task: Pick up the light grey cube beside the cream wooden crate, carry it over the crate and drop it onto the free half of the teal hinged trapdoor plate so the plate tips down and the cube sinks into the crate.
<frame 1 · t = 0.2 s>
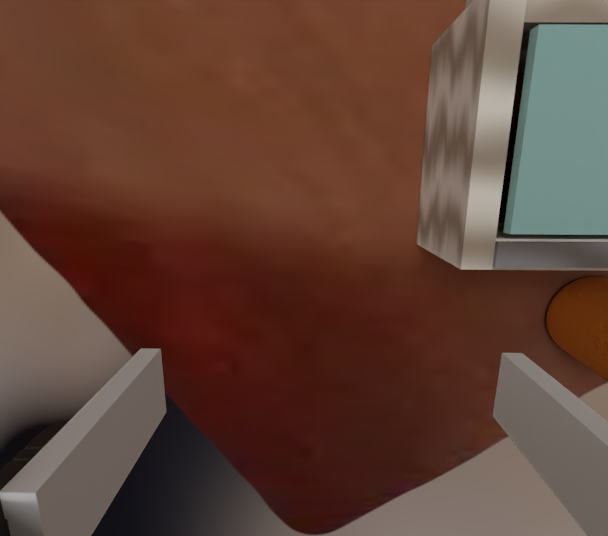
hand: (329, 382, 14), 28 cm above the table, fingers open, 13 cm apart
wine bottle: (581, 312, 43), on the table
crate: (518, 151, 38), on the table
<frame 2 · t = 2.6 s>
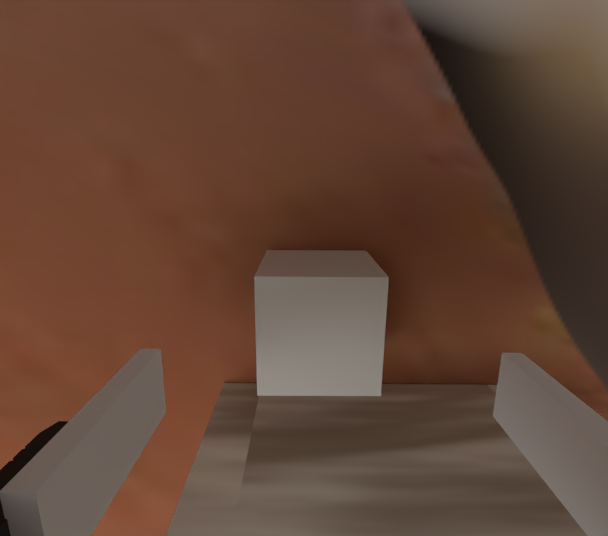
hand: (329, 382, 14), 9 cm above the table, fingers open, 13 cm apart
crate: (366, 505, 27), on the table
light grey cube: (315, 297, 23), on the table
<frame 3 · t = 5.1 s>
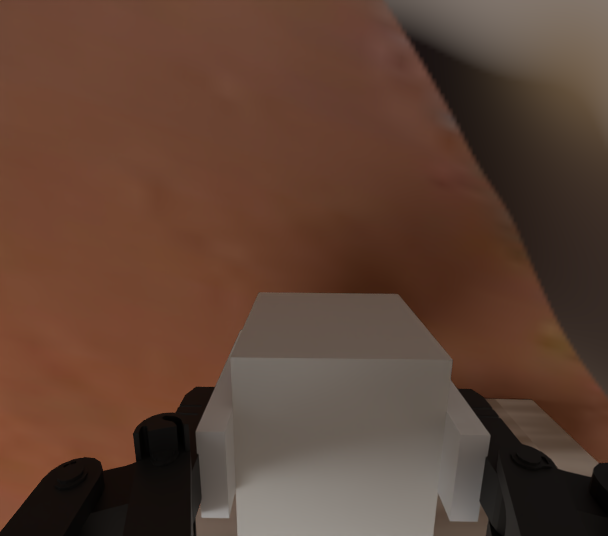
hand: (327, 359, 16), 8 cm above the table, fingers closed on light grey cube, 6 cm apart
crate: (377, 517, 27), on the table
light grey cube: (326, 357, 16), point 8 cm above the table, touching gripper
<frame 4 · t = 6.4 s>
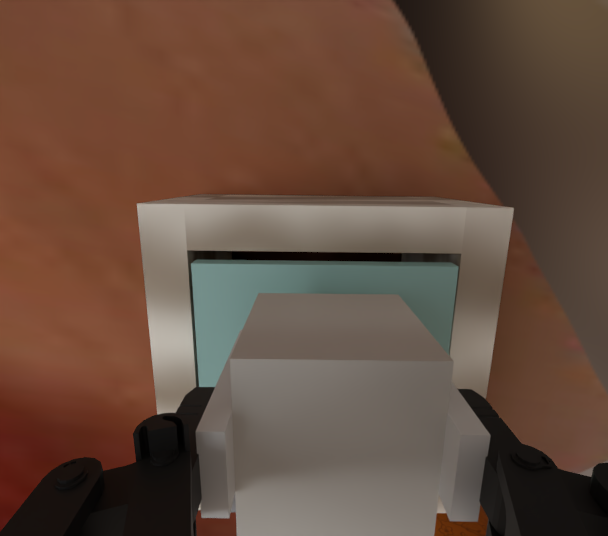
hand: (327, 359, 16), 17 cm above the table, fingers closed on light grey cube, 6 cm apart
wine bottle: (408, 470, 38), on the table
crate: (315, 306, 33), on the table
light grey cube: (326, 357, 16), point 17 cm above the table, touching gripper
trapdoor: (321, 380, 21), point 12 cm above the table, hinge at 0.0°
when the fingers open (14 cm above the table, at t = 7.0 s): light grey cube drops 6 cm, resting on crate, trapdoor.
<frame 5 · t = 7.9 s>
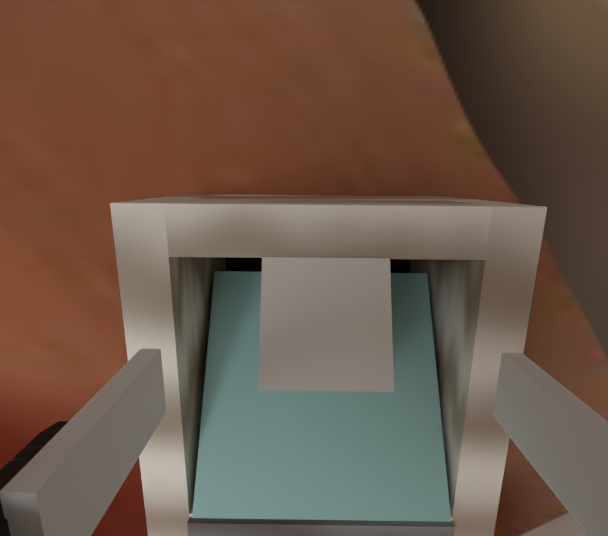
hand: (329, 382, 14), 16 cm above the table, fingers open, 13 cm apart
crate: (317, 315, 31), on the table
light grey cube: (320, 324, 22), point 8 cm above the table, tilted 23°, touching crate, trapdoor
trapdoor: (320, 383, 22), point 9 cm above the table, hinge at -31.4°, touching light grey cube
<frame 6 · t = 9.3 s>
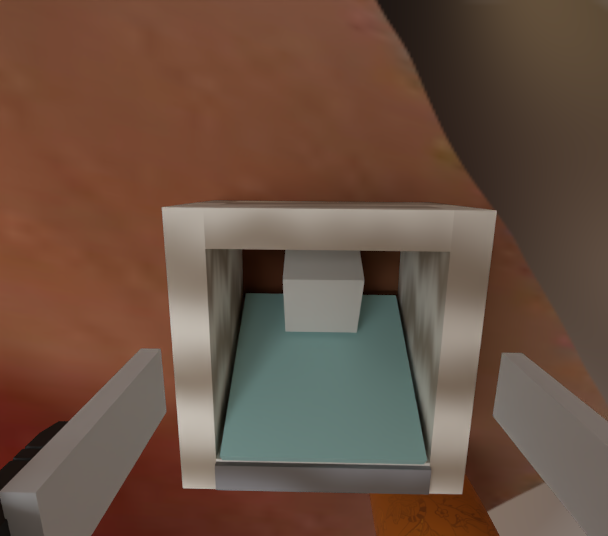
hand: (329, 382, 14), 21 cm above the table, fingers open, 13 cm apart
wine bottle: (408, 463, 40), on the table
crate: (320, 305, 36), on the table
light grey cube: (320, 305, 33), point 3 cm above the table, tilted 61°, touching crate, trapdoor
trapdoor: (321, 365, 30), point 7 cm above the table, hinge at -54.6°, touching light grey cube
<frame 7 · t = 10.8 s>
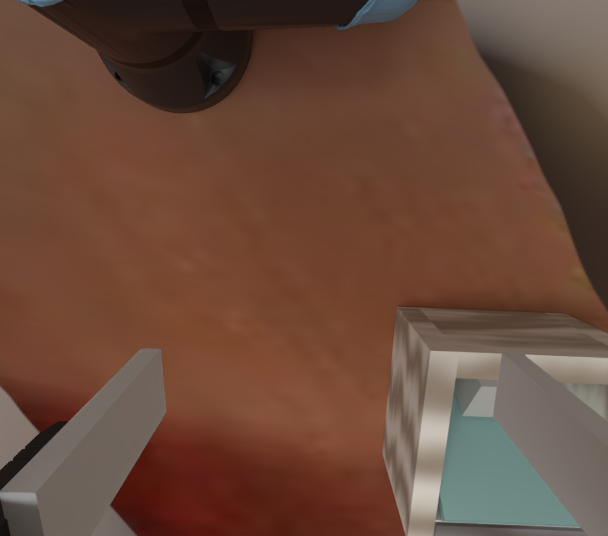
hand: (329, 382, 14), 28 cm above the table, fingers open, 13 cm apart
crate: (469, 386, 45), on the table
light grey cube: (480, 392, 42), point 3 cm above the table, tilted 61°, touching crate, trapdoor
trapdoor: (493, 444, 39), point 7 cm above the table, hinge at -54.6°, touching light grey cube
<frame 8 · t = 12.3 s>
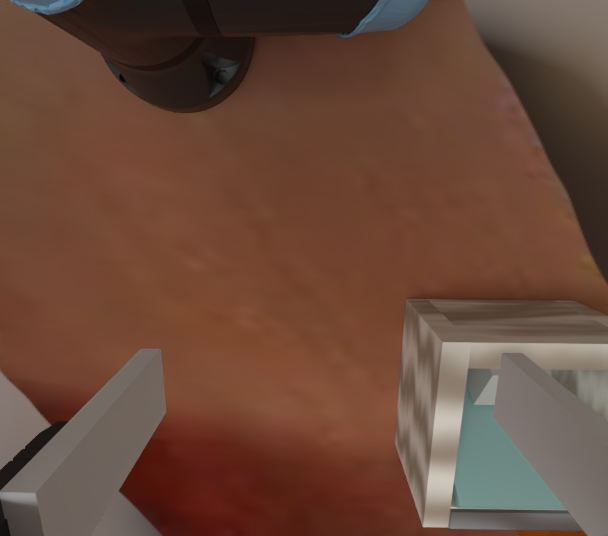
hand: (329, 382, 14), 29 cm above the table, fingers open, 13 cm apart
wine bottle: (536, 493, 50), on the table
crate: (479, 375, 46), on the table
light grey cube: (490, 380, 43), point 3 cm above the table, tilted 61°, touching crate, trapdoor
trapdoor: (505, 432, 40), point 7 cm above the table, hinge at -54.6°, touching light grey cube
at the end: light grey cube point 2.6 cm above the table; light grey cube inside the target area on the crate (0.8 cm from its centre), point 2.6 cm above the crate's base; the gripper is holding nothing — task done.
